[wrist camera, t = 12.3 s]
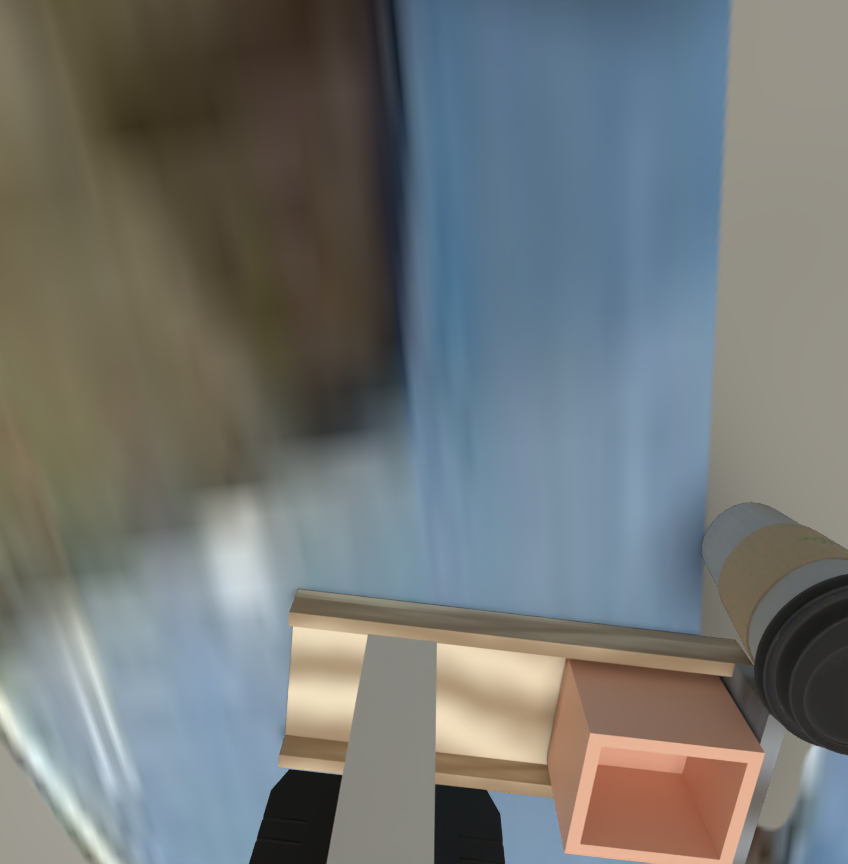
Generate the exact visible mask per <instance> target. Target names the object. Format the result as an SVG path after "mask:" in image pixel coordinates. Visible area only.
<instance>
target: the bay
mask: <svg viewBox="0 0 848 864" xmlns="http://www.w3.org/2000/svg"><path fill="white" fill-rule="evenodd" d="M288 626H293V636H292V650H291V664H290V677H289V691H288V705H287V718H286V732H285V737H284V741H283V744H282V747H281V750H280V754H279V764H278V767H284V768H293V769H302V770H311V771H319V772H328V773H337V774H343V770H344V764H345V759H346V753H347V748H348V742H349V737H350V731H351V726H352V720H353V715H354V709H355V703H356V698H357V692H358V687H359V681H360V676H361V670H362V665H363V659H364V654H365V648H366V643H367V637H368V634H373V635H382V636H390V637H399V638H408V639H416V640H425V641H434V642H437V675H436V748H435V784H440V785H449V786H458V787H466V788H475V789H484V790H487V791H495V792H504V793H513V794H522V795H531V796H539V797H548V798H554V796H553V791H552V786H551V780H550V775H549V770H548V765H547V756H548V751H549V745H550V740H551V735H552V730H553V725H554V720H555V715H556V710H557V705H558V700H559V695H560V689H561V684H562V679H563V674H564V669H565V664H566V659H567V658H571V659H579V660H588V661H597V662H605V663H614V664H623V665H631V666H640V667H649V668H657V669H666V670H675V671H684V672H692V673H701V674H710V675H718V676H719V678H720V679H721V681H722V683H723V684H724V686H725V688H726V689H727V691H728V693H729V694H730V696H731V698H732V699H733V701H734V703H735V704H736V706H737V708H738V709H739V711H740V712H741V714H742V716H743V717H744V719H745V721H746V722H747V724H748V726H749V727H750V729H751V731H752V732H753V734H754V736H755V737H756V739H757V740H758V742H759V744H760V745H761V747H762V749H763V750H764V752H765V755H764V759H763V762H762V765H761V769H760V772H759V775H758V779H757V782H756V785H755V789H754V792H753V796H752V799H751V802H750V806H749V809H748V812H747V816H746V819H745V822H744V826H743V829H742V833H741V836H740V839H739V843H738V846H737V849H736V853H735V856H734V859H733V863H732V864H745V862H746V858H747V855H748V852H749V849H750V845H751V842H752V839H753V835H754V832H755V829H756V826H757V822H758V819H759V816H760V812H761V809H762V806H763V802H764V799H765V796H766V793H767V789H768V786H769V782H770V779H771V776H772V773H773V770H774V766H775V763H776V759H777V756H778V753H779V750H780V747H781V743H782V740H783V737H784V733H785V730H786V728H785V727H784V726H783V725H782V724H781V723H779V722H778V721H777V720H776V719H775V718H774V717H773V716H772V715H771V714H770V713H769V711H768V710H767V708H766V707H765V705H764V704H763V702H762V700H761V698H760V696H759V694H758V690H757V687H756V683H755V675H754V665H753V664H752V663H751V661H750V660H749V659H748V657H747V656H746V654H745V653H744V651H743V650H742V648H741V647H740V645H739V644H738V643H737V641H736V640H732V639H723V638H715V637H706V636H697V635H689V634H680V633H672V632H663V631H654V630H646V629H637V628H628V627H620V626H611V625H602V624H594V623H585V622H577V621H568V620H559V619H551V618H542V617H533V616H525V615H516V614H507V613H499V612H490V611H482V610H473V609H464V608H456V607H447V606H438V605H430V604H421V603H412V602H404V601H395V600H387V599H378V598H369V597H361V596H352V595H343V594H335V593H326V592H317V591H309V590H300V589H298V591H297V594H296V596H295V599H294V601H293V604H292V607H291V609H290V612H289V623H288Z"/></svg>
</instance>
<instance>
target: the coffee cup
mask: <svg viewBox="0 0 848 864" xmlns="http://www.w3.org/2000/svg"><path fill="white" fill-rule="evenodd" d="M702 555H703V559H704V562H705V564H706V566H707V568H708V570H709V572H710V574H711V576H712V578H713V579H714V582H715V583H716V586H717V588H718V590H719V594H720V598H721V601H722V603H723V605H724V607H725V609H726V611H727V613H728V615H729V617H730V619H731V621H732V622H733V625H734V627H735V628H736V631H737V632H738V634H739V636H740V638H741V640H742V642H743V644H744V646H745V648H746V650H747V652H748V654H749V656H750V657H751V659H752V661H753V663H754V675H755V683H756V687H757V690H758V694H759V696H760V698H761V700H762V702H763V704H764V705H765V707H766V708H767V710H768V711H769V713H770V714H771V715H772V716H773V717H774V718H775V719H776V720H777V721H778V722H779V723H781V724H782V725H783V726H784V727H785V728H786V729H787V730H788V731H790V732H791V733H792V734H794V735H796V736H797V737H798V738H800V739H802V740H804V741H806V742H808V743H811V744H814V745H816V746H820V747H823V748H826V749H828V750H831V751H834V752H836V753H840V754H844V755H848V550H847V549H845V548H844V547H842V546H840V545H839V544H837V543H835V542H834V541H832V540H830V539H829V538H827V537H825V536H824V535H822V534H820V533H819V532H817V531H815V530H813V529H811V528H809V527H805V526H802V525H800V524H799V523H797V522H796V521H794V520H792V519H791V518H789V517H787V516H786V515H784V514H782V513H781V512H779V511H777V510H775V509H773V508H771V507H769V506H766V505H763V504H760V503H752V502H751V503H742V504H739V505H735V506H733V507H731V508H729V509H727V510H725V511H724V512H723V513H722V514H720V515H719V516H718V517H717V518H716V519H715V520H714V521H713V522H712V524H711V525H710V527H709V528H708V529H707V532H706V534H705V536H704V539H703V543H702Z"/></svg>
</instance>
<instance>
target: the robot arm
mask: <svg viewBox="0 0 848 864" xmlns="http://www.w3.org/2000/svg"><path fill="white" fill-rule="evenodd" d="M436 675H437V642H434V641H425V640H416V639H408V638H399V637H390V636H382V635H373V634H368V637H367V643H366V648H365V654H364V659H363V665H362V670H361V676H360V681H359V687H358V692H357V698H356V703H355V709H354V715H353V720H352V726H351V731H350V737H349V742H348V748H347V753H346V759H345V764H344V770H343V775H335V774H326V773H317V772H309V771H300V770H291V769H289V770H288V772H287V773H286V774H285V775H284V776H283V777H282V778H281V780H280V781H279V782H278V783H277V784H276V785H275V786H274V788H273V789H272V790H271V793H270V796H269V799H268V803H267V806H266V809H265V813H264V817H263V820H262V823H261V826H260V829H259V832H258V836H257V841H256V842H255V846H254V849H253V852H252V856H251V859H250V862H249V864H505V858H504V848H503V845H502V843H503V838H502V828H501V817H500V813H499V811H498V809H497V807H496V806H495V804H494V802H493V800H492V799H491V797H490V795H489V793H488V792H487V790H484V789H475V788H466V787H458V786H449V785H440V784H435V748H436Z"/></svg>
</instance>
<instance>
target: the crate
mask: <svg viewBox="0 0 848 864" xmlns="http://www.w3.org/2000/svg"><path fill="white" fill-rule="evenodd" d="M764 755H765V752H764V750H763V749H762V747H761V745H760V744H759V742H758V740H757V739H756V737H755V736H754V734H753V732H752V731H751V729H750V727H749V726H748V724H747V722H746V721H745V719H744V717H743V716H742V714H741V712H740V711H739V709H738V708H737V706H736V704H735V703H734V701H733V699H732V698H731V696H730V694H729V693H728V691H727V689H726V688H725V686H724V684H723V683H722V681H721V679H720V678H719V676H718V675H710V674H701V673H692V672H684V671H675V670H666V669H657V668H649V667H640V666H631V665H623V664H614V663H605V662H597V661H588V660H579V659H571V658H567V659H566V664H565V669H564V674H563V679H562V684H561V689H560V695H559V700H558V705H557V710H556V715H555V720H554V725H553V730H552V735H551V740H550V745H549V751H548V756H547V765H548V770H549V775H550V780H551V786H552V791H553V796H554V801H555V806H556V811H557V817H558V822H559V827H560V832H561V837H562V843H563V848H564V853H567V854H576V855H585V856H594V857H603V858H611V859H620V860H629V861H638V862H647V863H656V864H732V863H733V859H734V856H735V853H736V849H737V846H738V843H739V839H740V836H741V833H742V829H743V826H744V822H745V819H746V816H747V812H748V809H749V806H750V802H751V799H752V796H753V792H754V789H755V785H756V782H757V779H758V775H759V772H760V769H761V765H762V762H763V759H764Z"/></svg>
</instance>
